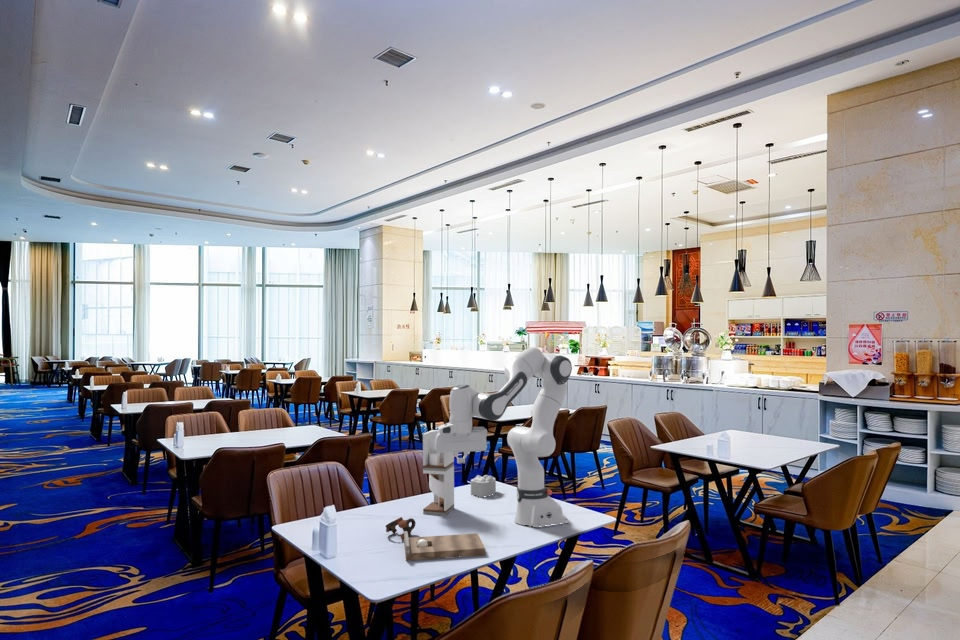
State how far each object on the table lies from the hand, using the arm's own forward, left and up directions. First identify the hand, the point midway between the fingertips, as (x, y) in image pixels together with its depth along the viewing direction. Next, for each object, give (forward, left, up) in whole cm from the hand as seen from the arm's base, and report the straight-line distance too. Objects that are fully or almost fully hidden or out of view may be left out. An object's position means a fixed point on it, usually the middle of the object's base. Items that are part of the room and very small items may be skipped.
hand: (461, 463), depth 223 cm
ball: (+16, +10, -27) cm, 33 cm away
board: (+8, +10, -29) cm, 32 cm away
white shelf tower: (+5, -38, -29) cm, 48 cm away
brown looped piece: (+23, -8, -29) cm, 38 cm away
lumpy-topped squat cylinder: (-20, -62, -29) cm, 72 cm away
